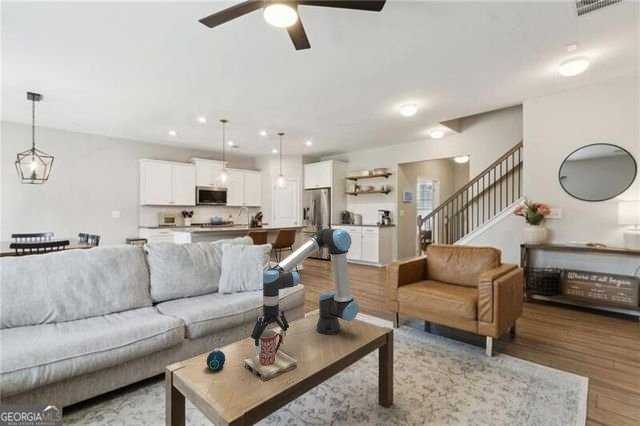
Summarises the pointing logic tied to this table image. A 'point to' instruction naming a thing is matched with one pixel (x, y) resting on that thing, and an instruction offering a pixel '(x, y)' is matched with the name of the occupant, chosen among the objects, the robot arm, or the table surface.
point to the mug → (269, 347)
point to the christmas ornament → (215, 359)
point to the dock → (275, 369)
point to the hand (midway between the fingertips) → (270, 347)
